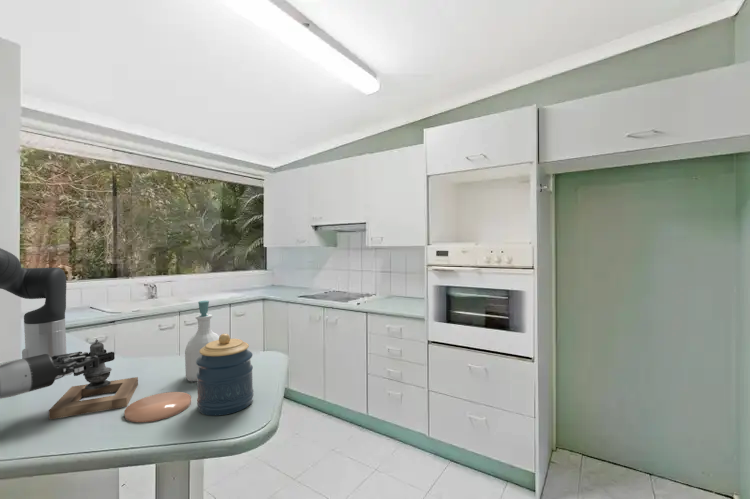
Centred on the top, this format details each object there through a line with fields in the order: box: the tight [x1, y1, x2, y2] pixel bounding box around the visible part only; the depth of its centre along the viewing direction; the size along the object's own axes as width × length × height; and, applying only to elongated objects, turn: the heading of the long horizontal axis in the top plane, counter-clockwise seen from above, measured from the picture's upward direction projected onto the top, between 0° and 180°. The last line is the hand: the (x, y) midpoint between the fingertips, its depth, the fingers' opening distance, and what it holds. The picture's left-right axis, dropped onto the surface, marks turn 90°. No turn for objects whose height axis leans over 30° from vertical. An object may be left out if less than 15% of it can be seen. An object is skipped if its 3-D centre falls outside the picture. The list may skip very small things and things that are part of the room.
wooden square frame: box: [48, 376, 139, 420], centre depth 94 cm, size 15×15×2 cm
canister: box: [196, 333, 254, 417], centre depth 90 cm, size 13×13×18 cm
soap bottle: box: [184, 300, 220, 382], centre depth 109 cm, size 10×10×23 cm
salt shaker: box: [82, 338, 113, 389], centre depth 94 cm, size 6×6×12 cm
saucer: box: [124, 391, 192, 423], centre depth 89 cm, size 14×14×1 cm
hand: (109, 354), depth 96 cm, fingers closed on salt shaker, 3 cm apart
